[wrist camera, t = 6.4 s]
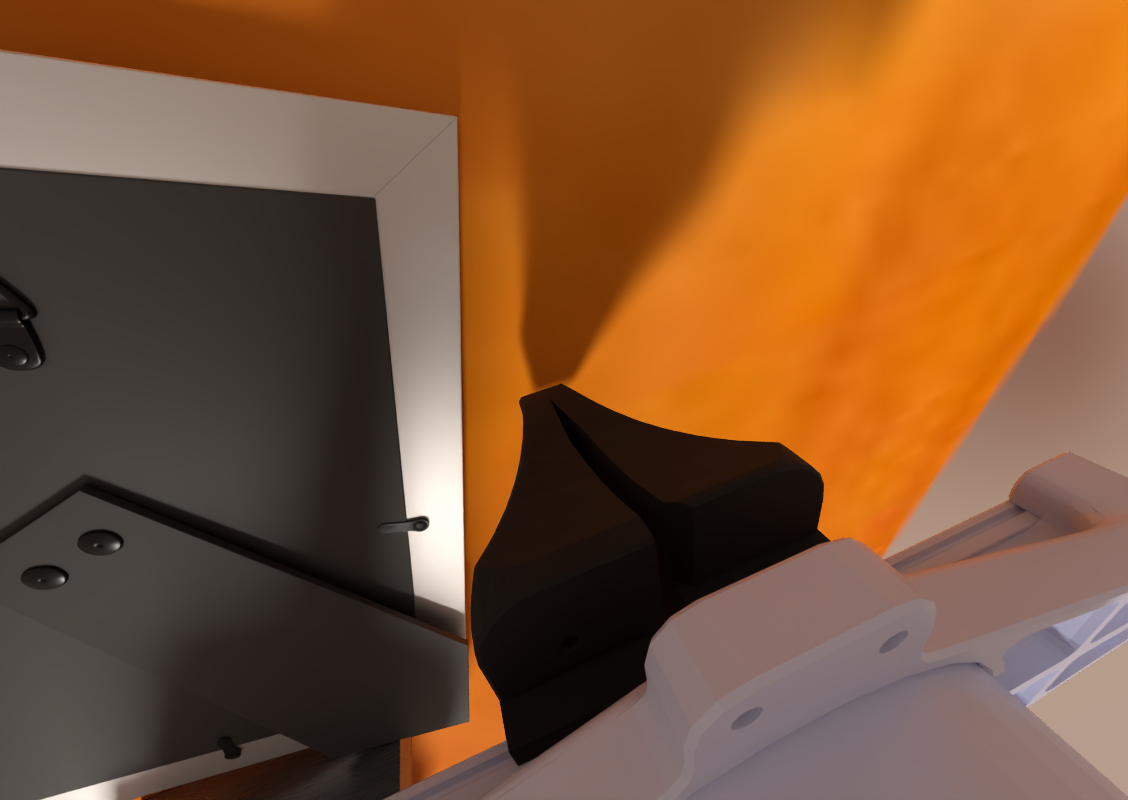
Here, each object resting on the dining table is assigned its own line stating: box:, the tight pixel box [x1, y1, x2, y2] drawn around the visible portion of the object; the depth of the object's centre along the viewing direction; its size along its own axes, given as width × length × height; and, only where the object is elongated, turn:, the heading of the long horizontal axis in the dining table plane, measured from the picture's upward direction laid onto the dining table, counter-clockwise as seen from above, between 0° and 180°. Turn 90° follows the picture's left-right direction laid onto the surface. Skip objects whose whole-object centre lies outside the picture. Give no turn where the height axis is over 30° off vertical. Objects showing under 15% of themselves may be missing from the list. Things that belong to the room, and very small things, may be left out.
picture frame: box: [0, 49, 469, 800], centre depth 11 cm, size 16×3×21 cm
